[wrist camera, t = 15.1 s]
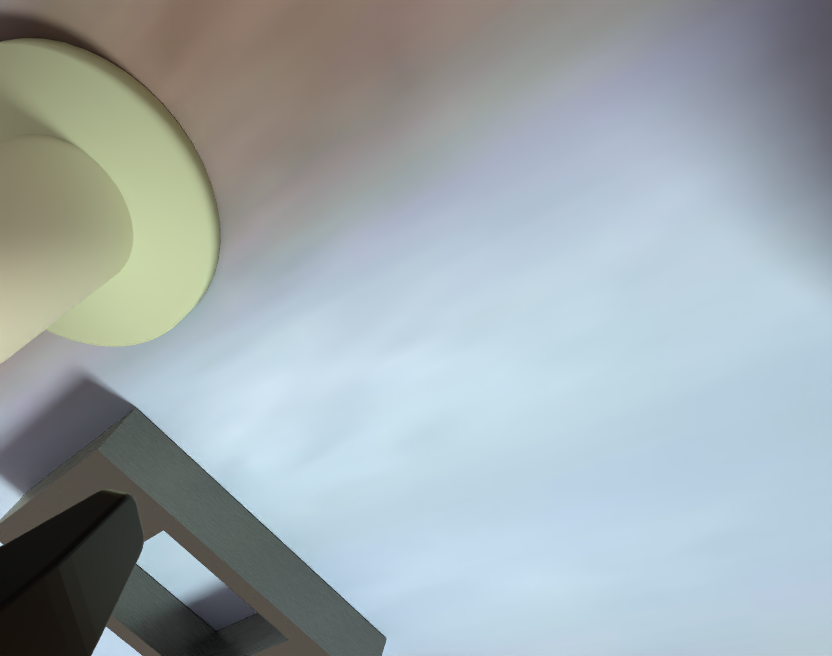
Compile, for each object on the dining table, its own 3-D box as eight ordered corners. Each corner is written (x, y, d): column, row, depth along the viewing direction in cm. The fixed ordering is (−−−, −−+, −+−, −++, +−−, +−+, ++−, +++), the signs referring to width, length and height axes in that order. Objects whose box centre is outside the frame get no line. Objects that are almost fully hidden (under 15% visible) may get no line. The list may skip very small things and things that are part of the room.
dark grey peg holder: (386, 639, 31) (370, 691, 29) (260, 684, 36) (239, 733, 34) (135, 407, 27) (97, 449, 25) (28, 490, 32) (-12, 532, 30)
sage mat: (281, 234, 22) (268, 247, 21) (113, 374, 27) (97, 390, 26) (29, -42, 19) (2, -39, 18) (-107, 170, 24) (-133, 180, 23)
